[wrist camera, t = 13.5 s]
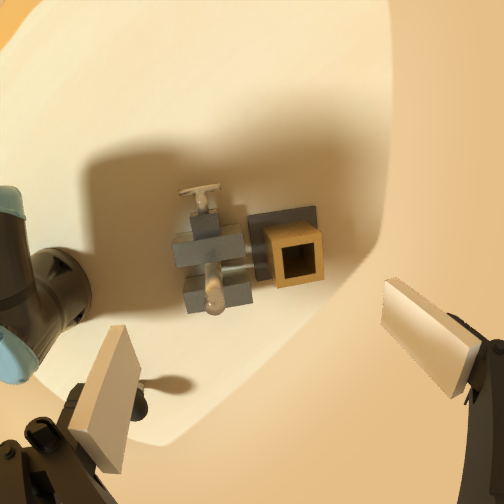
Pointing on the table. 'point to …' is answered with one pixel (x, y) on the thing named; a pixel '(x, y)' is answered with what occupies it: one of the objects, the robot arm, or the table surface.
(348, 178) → the table surface
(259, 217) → the mat
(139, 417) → the light bulb
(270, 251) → the open wooden box
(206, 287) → the vise
